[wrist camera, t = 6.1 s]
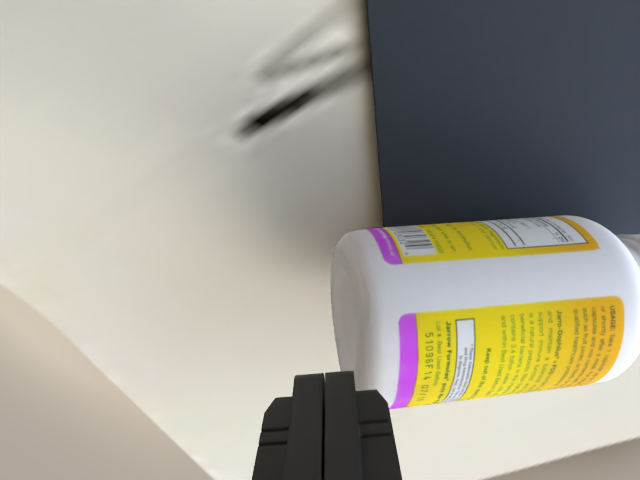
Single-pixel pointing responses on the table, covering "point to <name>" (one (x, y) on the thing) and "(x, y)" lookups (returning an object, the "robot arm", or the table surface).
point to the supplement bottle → (485, 307)
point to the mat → (507, 110)
